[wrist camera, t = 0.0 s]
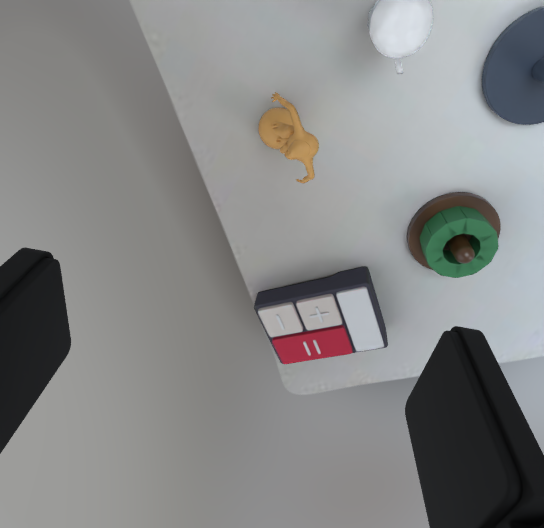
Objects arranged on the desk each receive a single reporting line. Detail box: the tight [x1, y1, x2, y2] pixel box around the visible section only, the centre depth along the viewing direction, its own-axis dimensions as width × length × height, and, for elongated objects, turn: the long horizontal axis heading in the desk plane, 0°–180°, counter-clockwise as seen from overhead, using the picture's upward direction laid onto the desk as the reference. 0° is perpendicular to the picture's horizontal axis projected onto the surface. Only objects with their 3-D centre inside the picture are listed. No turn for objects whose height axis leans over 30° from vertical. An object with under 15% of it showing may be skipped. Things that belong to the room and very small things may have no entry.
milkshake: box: [367, 0, 433, 74], centre depth 34 cm, size 4×5×10 cm
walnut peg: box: [407, 192, 500, 270], centre depth 46 cm, size 10×10×6 cm
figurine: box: [259, 92, 319, 183], centre depth 38 cm, size 8×6×12 cm
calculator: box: [254, 267, 388, 364], centre depth 55 cm, size 11×4×15 cm
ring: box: [420, 206, 498, 278], centre depth 46 cm, size 7×7×3 cm
